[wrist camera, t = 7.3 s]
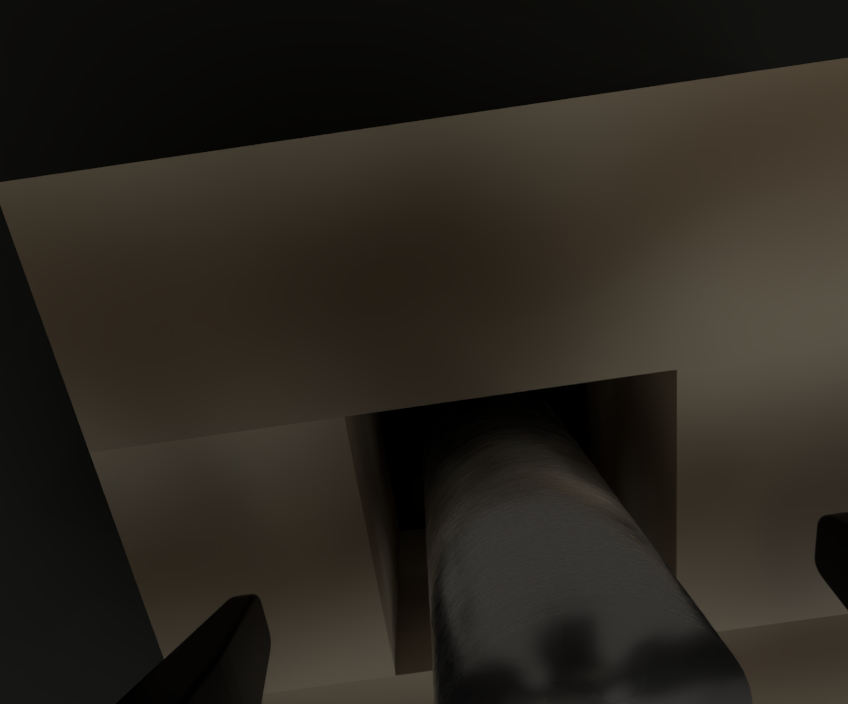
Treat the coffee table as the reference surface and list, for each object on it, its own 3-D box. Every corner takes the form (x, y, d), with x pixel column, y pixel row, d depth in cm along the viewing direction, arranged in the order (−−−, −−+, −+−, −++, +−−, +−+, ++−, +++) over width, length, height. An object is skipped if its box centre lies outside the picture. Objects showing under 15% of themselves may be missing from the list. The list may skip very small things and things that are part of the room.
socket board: (736, 606, 15) (870, 766, 11) (284, 668, 15) (233, 851, 11) (758, 107, 11) (981, 38, 7) (153, 196, 11) (-8, 183, 7)
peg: (554, 478, 14) (746, 826, 6) (430, 496, 14) (456, 863, 6) (546, 359, 13) (760, 584, 5) (411, 378, 13) (415, 631, 5)
